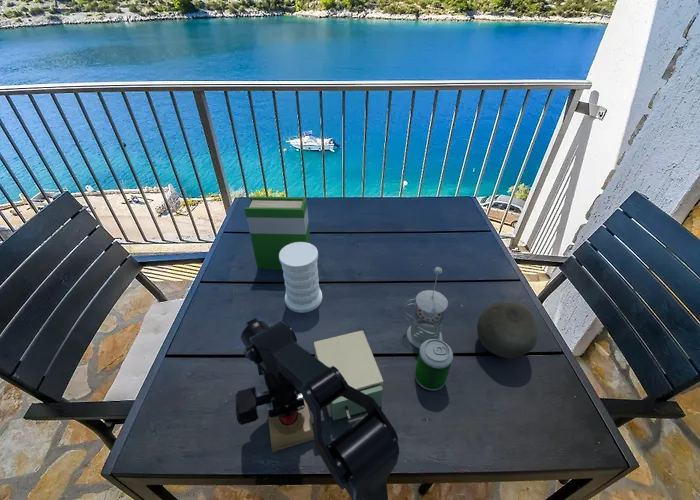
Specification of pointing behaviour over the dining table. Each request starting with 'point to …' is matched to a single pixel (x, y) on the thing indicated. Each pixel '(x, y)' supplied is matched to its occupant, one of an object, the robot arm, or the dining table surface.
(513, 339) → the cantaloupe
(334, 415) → the drawer
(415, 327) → the french press
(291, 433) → the control block
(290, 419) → the red button
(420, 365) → the soda can
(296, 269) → the decorative container
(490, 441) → the dining table surface
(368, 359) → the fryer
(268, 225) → the hardback book
